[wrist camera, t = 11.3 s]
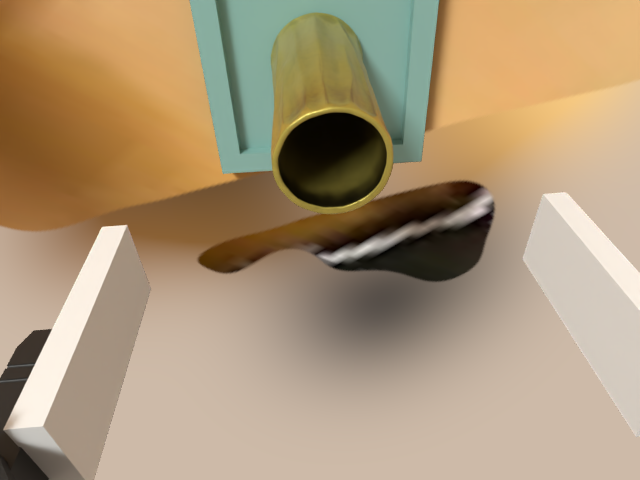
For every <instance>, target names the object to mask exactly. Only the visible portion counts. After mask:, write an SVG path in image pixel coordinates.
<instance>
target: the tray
mask: <svg viewBox="0 0 640 480" xmlns="http://www.w3.org/2000/svg"><path fill="white" fill-rule="evenodd" d="M190 5H191V11H192V16H193V21H194V26H195V31H196V37H197V42H198V47H199V52H200V57H201V63H202V68H203V73H204V78H205V83H206V89H207V94H208V99H209V104H210V110H211V115H212V120H213V125H214V130H215V136H216V141H217V146H218V151H219V156H220V162H221V167H222V172H223V174H225V173H241V172H258V171H272V160H271V143H272V127H273V114H274V91H273V80H272V68H271V52H272V48H273V44H274V41H275V39H276V37H277V35H278V34H279V32H280V31H281V30H282V29H283V28H284V26H286V25H287V24H288V23H289V22H290V21H292V20H293V19H295V18H297V17H300V16H302V15H305V14H309V13H315V12H317V13H326V14H330V15H333V16H335V17H338V18H340V19H341V20H343V21H344V22H345V23H346V24H348V25H349V26H350V27H351V29H352V30H353V31H354V32H355V34H356V35H357V37H358V39H359V42H360V45H361V48H362V53H363V63H364V66H365V68H366V70H367V74H368V78H369V81H370V84H371V86H372V88H373V91H374V94H375V97H376V100H377V103H378V106H379V109H380V112H381V115H382V118H383V121H384V123H385V126H386V128H387V130H388V132H389V134H390V137H391V140H392V145H393V163H403V162H419V161H421V160H422V152H423V142H424V133H425V124H426V115H427V106H428V97H429V87H430V78H431V69H432V60H433V51H434V42H435V32H436V23H437V14H438V5H439V0H190Z"/></svg>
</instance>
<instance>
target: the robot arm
mask: <svg viewBox="0 0 640 480" xmlns="http://www.w3.org/2000/svg"><path fill="white" fill-rule="evenodd" d="M523 261H524V262H525V264H526V265H527V267H528V268H529V270H530V272H531V273H532V275H533V276H534V278H535V280H536V281H537V283H538V284H539V286H540V287H541V289H542V291H543V292H544V294H545V295H546V297H547V298H548V300H549V302H550V303H551V305H552V306H553V308H554V309H555V311H556V312H557V314H558V316H559V317H560V319H561V320H562V322H563V324H564V325H565V327H566V328H567V330H568V331H569V333H570V335H571V336H572V337H573V339H574V340H575V342H576V344H577V345H578V347H579V349H580V350H581V352H582V353H583V355H584V356H585V358H586V360H587V361H588V363H589V364H590V366H591V367H592V369H593V371H594V372H595V374H596V375H597V377H598V378H599V380H600V382H601V383H602V385H603V386H604V388H605V389H606V391H607V393H608V394H609V396H610V397H611V399H612V400H613V402H614V404H615V405H616V407H617V408H618V410H619V411H620V413H621V414H622V416H623V418H624V419H625V421H626V422H627V424H628V425H629V427H630V428H631V430H632V432H633V433H634V435H635V436H636V437H638V436H640V273H639V272H638V271H637V270H636V269H635V267H634V266H633V265H632V264H631V263H630V262H629V261H628V260H627V259H626V258H625V256H624V255H623V254H622V253H621V252H620V251H619V250H618V249H617V248H616V247H615V245H614V244H613V243H612V242H611V241H610V240H609V239H608V238H607V237H606V236H605V234H604V233H603V232H602V231H601V230H600V229H599V228H598V227H597V226H596V225H595V223H594V222H593V221H592V220H591V219H590V218H589V217H588V216H587V215H586V213H584V211H583V210H582V209H581V208H580V207H579V206H578V205H577V204H576V203H575V201H574V200H573V199H572V198H571V197H570V196H569V195H568V194H567V193H566V192H564V193H550V194H543V195H542V199H541V202H540V205H539V208H538V211H537V215H536V218H535V221H534V224H533V227H532V230H531V233H530V237H529V240H528V243H527V246H526V249H525V253H524V256H523ZM150 290H151V287H150V285H149V282H148V279H147V277H146V274H145V271H144V269H143V266H142V264H141V261H140V258H139V255H138V253H137V250H136V248H135V245H134V242H133V239H132V237H131V234H130V231H129V229H128V226H127V225H121V226H107V227H102V228H101V230H100V232H99V234H98V236H97V238H96V240H95V242H94V244H93V246H92V249H91V251H90V253H89V255H88V257H87V259H86V261H85V263H84V265H83V267H82V269H81V271H80V273H79V276H78V277H77V280H76V281H75V283H74V286H73V288H72V290H71V292H70V294H69V296H68V298H67V300H66V302H65V304H64V306H63V308H62V311H61V312H60V314H59V317H58V318H57V321H56V322H55V325H54V327H53V329H48V330H36V331H33V332H32V333H31V334H30V335H29V336H28V337H27V338H26V339H25V340H24V341H23V342H22V343H21V344H20V345H19V346H18V347H17V348H16V350H15V352H14V354H13V356H12V358H11V359H10V362H9V363H8V365H7V366H8V368H7V369H5V371H4V373H3V374H2V376H1V378H0V480H94V478H95V475H96V471H97V468H98V465H99V461H100V458H101V454H102V451H103V447H104V445H105V441H106V438H107V434H108V431H109V428H110V424H111V421H112V417H113V414H114V411H115V407H116V404H117V401H118V397H119V394H120V391H121V387H122V384H123V381H124V377H125V374H126V371H127V367H128V364H129V361H130V357H131V354H132V351H133V347H134V344H135V340H136V337H137V334H138V330H139V327H140V324H141V320H142V317H143V314H144V310H145V307H146V303H147V300H148V297H149V293H150Z"/></svg>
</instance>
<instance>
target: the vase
mask: <svg viewBox="0 0 640 480" xmlns="http://www.w3.org/2000/svg"><path fill="white" fill-rule="evenodd" d="M271 68H272V80H273V91H274V114H273V127H272V143H271V160H272V171H273V175H274V178H275V181H276V183H277V185H278V186H279V188H280V190H281V191H282V192H283V193H284V194H285V195H286V196H287V197H288V198H289V199H290V200H291V201H292V202H293V203H294V204H296V205H298V206H300V207H302V208H304V209H307V210H310V211H313V212H317V213H321V214H338V213H345V212H349V211H352V210H355V209H357V208H360V207H361V206H363V205H365V204H367V203H368V202H370V201H371V200H372V199H374V198H375V197H376V196H377V195H378V194H379V193H380V192H381V191H382V190H383V189H384V187H385V185H386V183H387V181H388V179H389V177H390V175H391V171H392V168H393V145H392V140H391V137H390V134H389V132H388V130H387V128H386V126H385V123H384V121H383V118H382V115H381V112H380V109H379V106H378V103H377V100H376V97H375V94H374V91H373V88H372V86H371V84H370V81H369V78H368V74H367V70H366V68H365V66H364V63H363V53H362V48H361V45H360V42H359V39H358V37H357V35H356V34H355V32H354V31H353V30H352V29H351V27H350V26H349V25H348V24H346V23H345V22H344V21H343V20H341V19H340V18H338V17H335V16H333V15H330V14H326V13H317V12H315V13H309V14H305V15H302V16H300V17H297V18H295V19H293V20H292V21H290V22H289V23H288V24H287V25H286V26H284V28H283V29H282V30H281V31H280V32H279V34H278V35H277V37H276V39H275V41H274V44H273V48H272V52H271Z"/></svg>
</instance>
